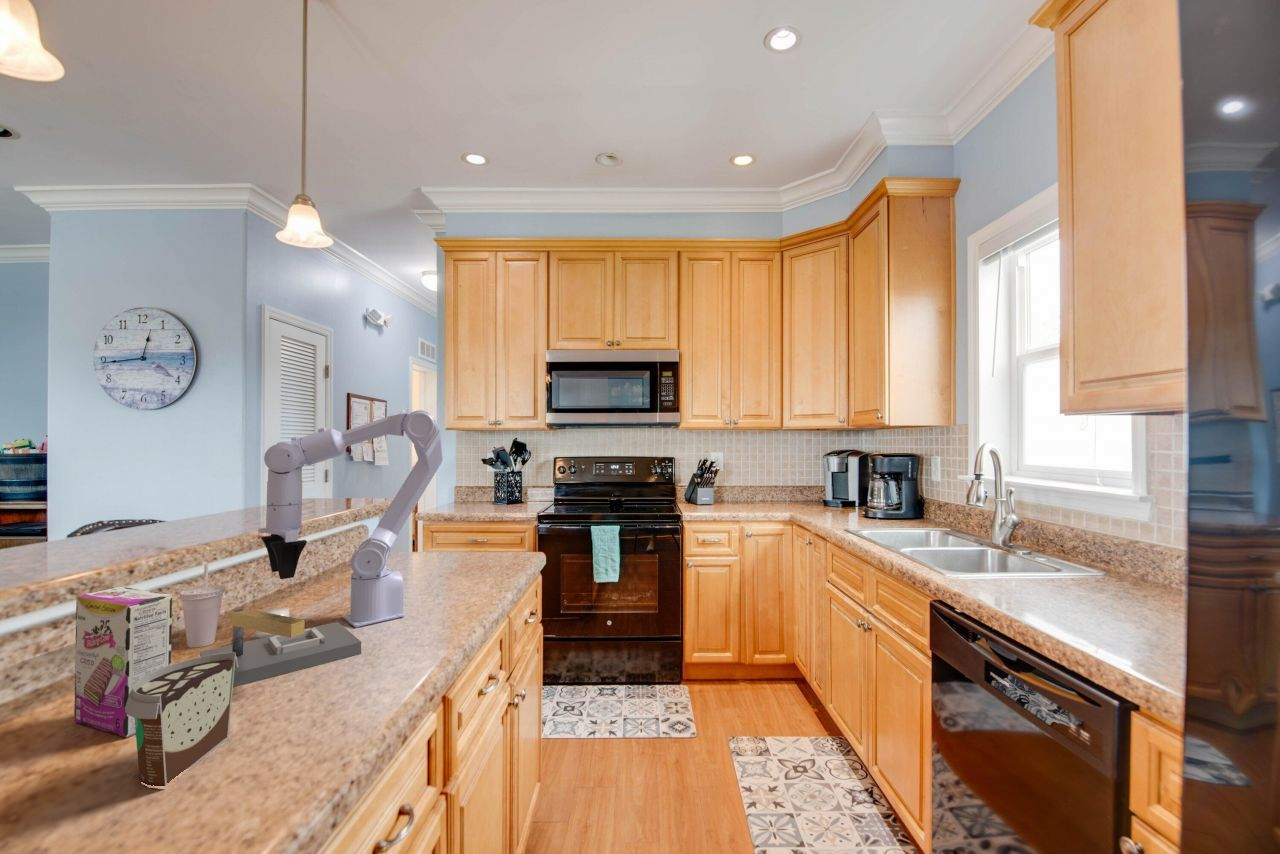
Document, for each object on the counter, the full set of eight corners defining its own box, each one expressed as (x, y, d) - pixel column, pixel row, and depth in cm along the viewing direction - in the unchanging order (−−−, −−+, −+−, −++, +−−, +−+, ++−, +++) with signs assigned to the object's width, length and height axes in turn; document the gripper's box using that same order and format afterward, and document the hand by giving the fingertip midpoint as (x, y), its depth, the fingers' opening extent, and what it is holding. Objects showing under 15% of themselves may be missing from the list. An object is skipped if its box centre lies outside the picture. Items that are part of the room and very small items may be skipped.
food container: (184, 734, 64) (186, 652, 65) (236, 731, 65) (238, 650, 65) (87, 802, 52) (90, 701, 52) (153, 799, 53) (155, 698, 53)
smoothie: (233, 637, 96) (235, 561, 97) (200, 651, 90) (202, 569, 90) (202, 636, 97) (204, 560, 97) (167, 650, 91) (169, 568, 91)
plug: (289, 630, 100) (290, 603, 100) (296, 638, 96) (297, 611, 96) (252, 638, 96) (253, 610, 96) (258, 647, 92) (258, 618, 92)
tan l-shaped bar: (303, 667, 78) (304, 620, 79) (290, 672, 76) (291, 624, 77) (241, 652, 84) (242, 608, 84) (227, 656, 82) (228, 611, 82)
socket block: (337, 632, 99) (337, 616, 99) (361, 653, 89) (361, 635, 89) (200, 663, 85) (200, 645, 85) (209, 693, 75) (210, 672, 75)
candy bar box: (69, 724, 67) (73, 595, 67) (119, 706, 71) (122, 585, 72) (123, 740, 63) (127, 603, 64) (172, 720, 68) (175, 592, 68)
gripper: (252, 502, 104) (250, 571, 104) (266, 509, 94) (264, 585, 93) (294, 500, 109) (292, 565, 109) (311, 506, 99) (310, 578, 98)
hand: (282, 574), depth 101 cm, fingers open, 7 cm apart
